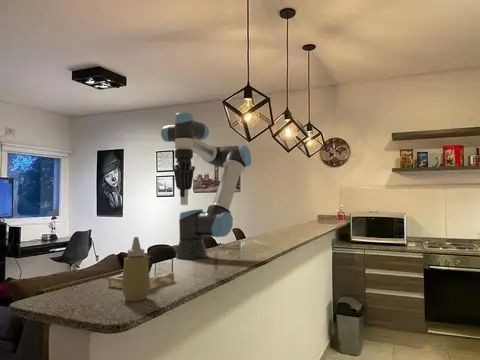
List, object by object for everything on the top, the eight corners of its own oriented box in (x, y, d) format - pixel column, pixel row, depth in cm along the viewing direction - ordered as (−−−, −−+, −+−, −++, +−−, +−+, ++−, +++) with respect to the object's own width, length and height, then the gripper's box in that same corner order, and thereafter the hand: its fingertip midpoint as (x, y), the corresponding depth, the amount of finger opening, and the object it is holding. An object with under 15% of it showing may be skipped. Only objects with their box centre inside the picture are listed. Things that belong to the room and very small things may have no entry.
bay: (142, 277, 135) (142, 269, 135) (174, 281, 128) (174, 272, 128) (108, 286, 121) (108, 277, 121) (141, 291, 114) (141, 282, 114)
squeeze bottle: (117, 299, 106) (117, 237, 107) (142, 294, 111) (143, 235, 112) (128, 305, 100) (128, 239, 101) (155, 299, 105) (155, 237, 106)
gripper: (186, 151, 162) (186, 204, 161) (166, 148, 150) (167, 205, 149) (200, 150, 158) (200, 204, 157) (181, 146, 147) (181, 205, 146)
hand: (184, 204), depth 153 cm, fingers closed
